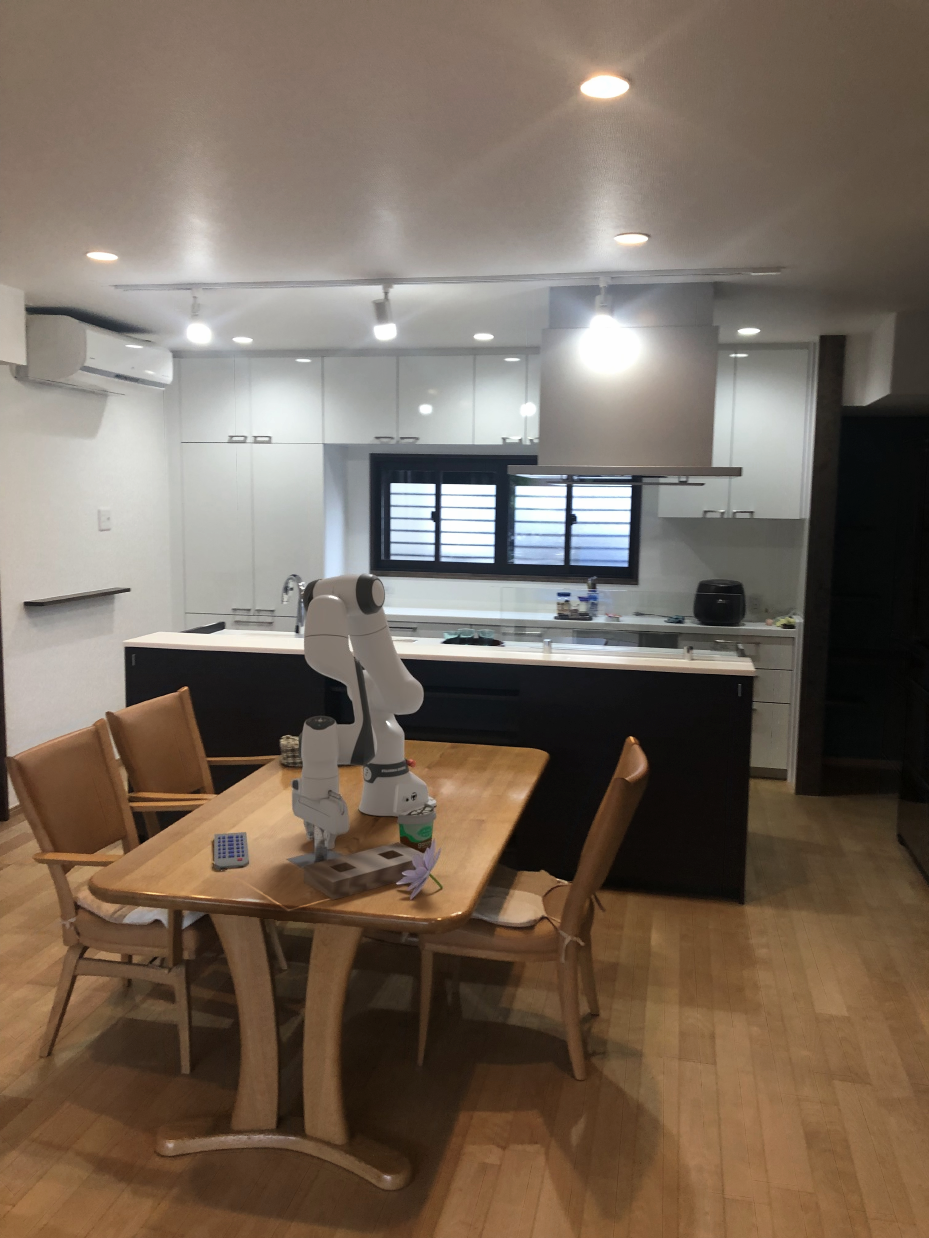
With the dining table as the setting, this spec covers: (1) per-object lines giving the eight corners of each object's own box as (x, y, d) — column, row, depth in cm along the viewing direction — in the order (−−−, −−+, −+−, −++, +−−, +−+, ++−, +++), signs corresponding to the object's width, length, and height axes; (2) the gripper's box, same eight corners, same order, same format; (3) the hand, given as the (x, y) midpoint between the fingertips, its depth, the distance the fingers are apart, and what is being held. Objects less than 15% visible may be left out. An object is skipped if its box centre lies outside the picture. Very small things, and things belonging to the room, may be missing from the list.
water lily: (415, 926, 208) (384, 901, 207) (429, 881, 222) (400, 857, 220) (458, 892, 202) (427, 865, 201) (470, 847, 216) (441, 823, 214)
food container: (417, 859, 229) (418, 819, 228) (396, 854, 233) (397, 814, 232) (445, 845, 240) (446, 806, 239) (425, 840, 243) (425, 802, 242)
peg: (323, 857, 229) (322, 816, 228) (329, 860, 227) (329, 819, 226) (312, 860, 227) (311, 819, 226) (318, 863, 225) (318, 822, 224)
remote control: (246, 839, 244) (246, 830, 244) (249, 870, 222) (249, 860, 222) (214, 841, 242) (214, 832, 242) (214, 872, 220) (213, 863, 220)
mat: (329, 849, 235) (329, 848, 235) (356, 863, 226) (356, 862, 226) (286, 860, 228) (286, 858, 228) (312, 875, 218) (312, 873, 218)
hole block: (397, 858, 230) (398, 841, 230) (428, 872, 221) (428, 855, 221) (303, 883, 214) (303, 866, 213) (332, 900, 204) (332, 882, 204)
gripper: (355, 794, 219) (355, 852, 220) (309, 774, 235) (309, 829, 236) (332, 798, 215) (332, 858, 216) (287, 779, 231) (287, 834, 232)
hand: (320, 843), depth 226 cm, fingers open, 7 cm apart
